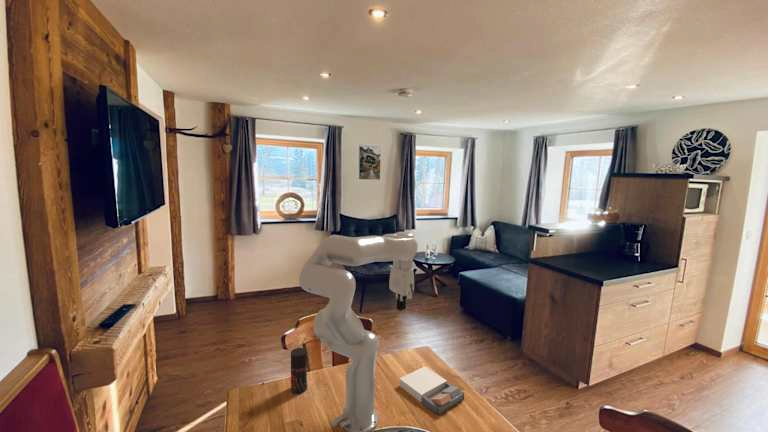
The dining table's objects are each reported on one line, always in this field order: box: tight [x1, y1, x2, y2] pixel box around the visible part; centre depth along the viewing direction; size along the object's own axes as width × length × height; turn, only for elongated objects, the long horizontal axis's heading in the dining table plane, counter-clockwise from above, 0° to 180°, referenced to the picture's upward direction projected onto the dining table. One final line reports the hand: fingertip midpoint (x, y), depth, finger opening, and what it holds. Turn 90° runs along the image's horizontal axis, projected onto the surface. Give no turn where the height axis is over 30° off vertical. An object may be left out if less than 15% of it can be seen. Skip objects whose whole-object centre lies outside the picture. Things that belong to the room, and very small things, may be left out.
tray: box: [421, 381, 465, 416], centre depth 124 cm, size 14×8×2 cm, turn 129°
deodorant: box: [290, 347, 308, 395], centre depth 127 cm, size 6×6×15 cm
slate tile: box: [441, 385, 462, 398], centre depth 125 cm, size 5×5×2 cm
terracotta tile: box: [431, 394, 451, 405], centre depth 121 cm, size 5×5×2 cm
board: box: [398, 365, 448, 403], centre depth 132 cm, size 14×12×3 cm
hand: (401, 309), depth 133 cm, fingers closed
